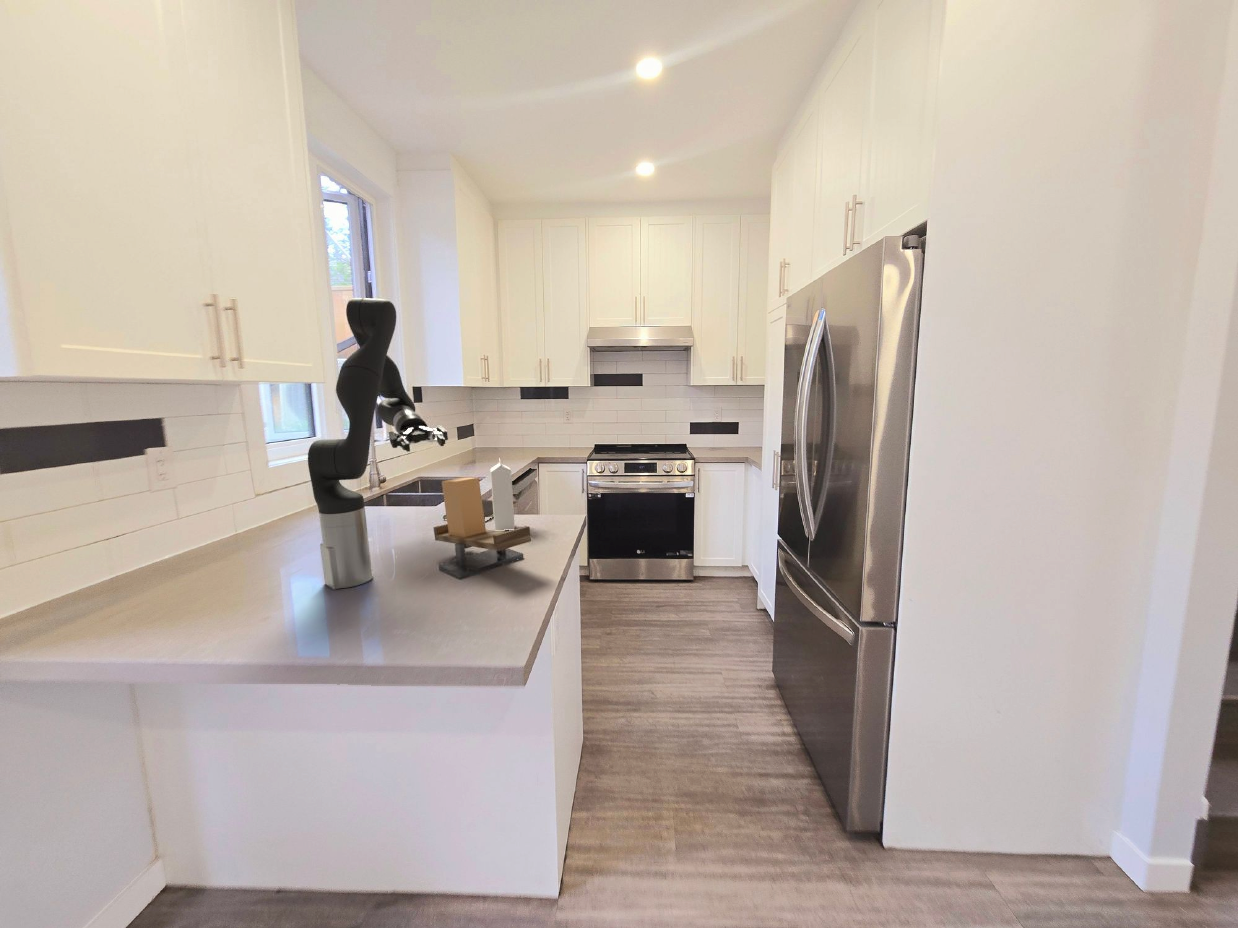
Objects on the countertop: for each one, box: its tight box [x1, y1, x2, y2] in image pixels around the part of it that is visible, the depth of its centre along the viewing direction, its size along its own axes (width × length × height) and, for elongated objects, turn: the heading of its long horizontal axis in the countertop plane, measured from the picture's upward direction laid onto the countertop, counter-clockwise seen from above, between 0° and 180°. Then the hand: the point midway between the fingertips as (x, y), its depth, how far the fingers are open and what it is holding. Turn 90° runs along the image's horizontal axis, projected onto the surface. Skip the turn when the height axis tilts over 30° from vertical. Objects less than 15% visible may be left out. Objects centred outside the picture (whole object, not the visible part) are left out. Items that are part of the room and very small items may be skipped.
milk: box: [489, 457, 516, 531], centre depth 154 cm, size 6×6×22 cm
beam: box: [432, 523, 532, 551], centre depth 124 cm, size 30×9×4 cm, turn 47°
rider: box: [441, 477, 487, 537], centre depth 128 cm, size 6×8×14 cm
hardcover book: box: [442, 499, 518, 520], centre depth 177 cm, size 16×23×2 cm
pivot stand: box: [438, 543, 524, 580], centre depth 125 cm, size 10×18×6 cm, turn 137°
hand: (425, 445), depth 129 cm, fingers open, 8 cm apart
